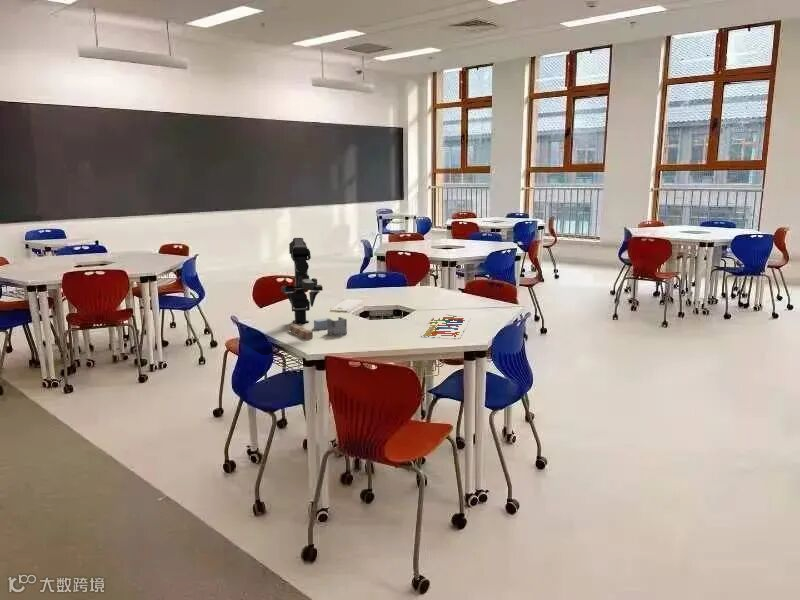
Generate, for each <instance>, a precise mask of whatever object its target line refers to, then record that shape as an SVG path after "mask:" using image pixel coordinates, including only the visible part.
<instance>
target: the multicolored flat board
mask: <svg viewBox="0 0 800 600" xmlns="http://www.w3.org/2000/svg"><path fill="white" fill-rule="evenodd" d="M446 315H448V316H453V317H443V319H442V320H440V318H439V319H438V320H434V317H433V318H431V319H430V321H433V320H434V321H436V322H430V321H429V323H427V325H428V324H432V323H435V324H437V323H438V322H437V321H445V322H446V323H442V324H446V325H439V324H438V325H437V326H448V327H437V326H436V325H430V326H432V327H429V329H428V330H427V331H426V333H425V334H424V335H423V336H436V335H437V334H452V335H441V336H453V335H454V337H456V335H459V334H457V333H460V332H455V333H445V332H451V331H436V330H439V329H454V330H458V328H452V327H450V326H456V327H459V326H458V325H462V324H447V323H463V321H465V320H463V319H464V318H454V317H457V315H451V314H448V313H447V314H446ZM446 315H445V316H446ZM445 319H448V320H445ZM453 320H454V321H457V322H450V321H453ZM435 326H436V327H437V328H436V327H435ZM434 328H435V329H434ZM433 330H435V331H433ZM431 334H432V335H431ZM455 334H456V335H455Z"/></svg>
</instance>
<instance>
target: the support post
mask: <svg viewBox="0 0 800 600" xmlns="http://www.w3.org/2000/svg"><path fill="white" fill-rule="evenodd" d="M327 319H331V320H333V319H332V318H329V317H326V318H325V317H324V318H319V319H313V329H315V328H316V330H317V329H319V330H324V329H323V328H326V329H327Z"/></svg>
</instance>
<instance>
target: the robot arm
mask: <svg viewBox="0 0 800 600" xmlns="http://www.w3.org/2000/svg"><path fill="white" fill-rule="evenodd" d="M288 245H289V247H288V249H289V250H288V253H289V255H290V257H291V260H292V261H293V264H294V266H293V267H294V276H293V279H294V285H284V286H283V285H282V286H281V288H280V293H283V294H284V295H286V297H287V299H288V301H289V303H290V305H291V312H294V320H292V321H293V322H292V323H294V322H295V323H294V324H296V323H297V324H296V325H300V324H299V323H301V324H307V323H310V321H309V320H307V311H308V312H309V311H311V310H310V309H311V308H313V307H314V304H315V300H316V297H317V295H318V294H319V293H321V291H323V285H322V284H318V279H317V278H315V277H313V278H311V279H310V275H309V274H308V270H309V267H310V266H309V263H308V262H307V261H310V259H312V257H311V251H310V248H308V246H307V242H306V241H304V238H303V237H294V238H292V240H291V242H290V243H289V244H288ZM305 291H309V292H308V293H309V298H308V295H307V293H306V292H305ZM306 322H307V323H306Z"/></svg>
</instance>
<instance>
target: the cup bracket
mask: <svg viewBox="0 0 800 600" xmlns="http://www.w3.org/2000/svg"><path fill="white" fill-rule="evenodd" d="M331 319H332V318H330V319H327V328H326V329H327V335H330V334H331V335H330V336H332V335H333V337H337V336H342V335H341V334H343V335H347V334H348V330H347V329H348V327H347V326H348V324H347V321H348V320H347V318H344V317H341V316H339V317H338V319H336V320H334V319H332V320H331ZM336 335H337V336H336Z"/></svg>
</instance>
